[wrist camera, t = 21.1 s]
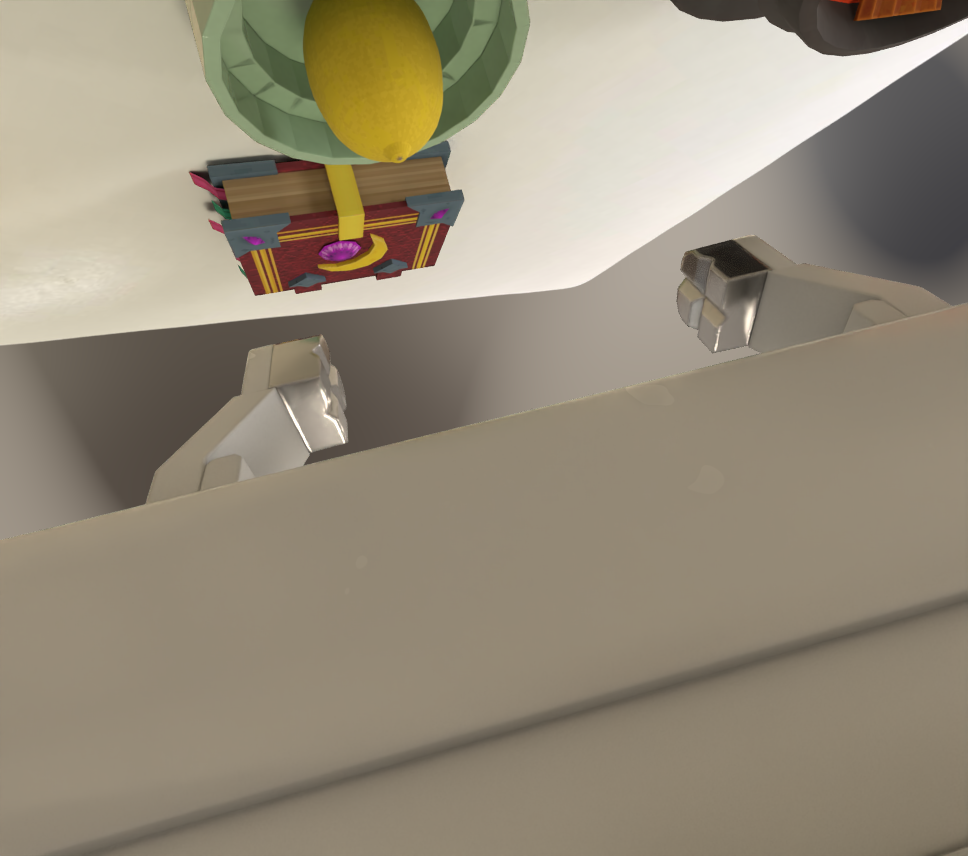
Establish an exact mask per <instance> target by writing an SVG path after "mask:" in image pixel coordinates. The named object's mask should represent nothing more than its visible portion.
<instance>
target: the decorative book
mask: <svg viewBox="0 0 968 856" xmlns="http://www.w3.org/2000/svg"><path fill="white" fill-rule="evenodd" d="M450 152H451V150H450V147H449V143H448V141H445V142H441V143H440V144H437V145H435V146H432V147H430V148H427V149H425V150H422V151H420V152H417V153H415V154H413V155H412V156H410V157H408V158H407V159H406V160H405V161H403V162H401V163H394V162H379V163H374V164H363V165H326V164H321V163H316V162H311V161H305V160H303V161H294V162H284V163H275V160H266V161H255V162H245V163H234V164H223V165H213V166H207V168H208V172H209V176H210V179H211V181H212V184H213V186H214V187H213V186H212V185H211V184H209V183H208V182H207V181H206V180H204V179H203V178H201V177H199V176H197V175H195V174H192V173H190V172H189V173H190V175H191V177H192V180H193V182H194V184H195V185H197V186H200V187H202V188H204V189H206V190H208V191H210V192H211V193H212V194H213V195H215V196H216V197H217V198H218V199H219V201H220V203H221V205H222V208H223V209H222V208H221V207H219V206H218V205H217V204H216V203H214V202H213V201H212V203H213V205H214V207H215V209H216V211H217V212H218V213H219V214H221V215H222V216H223V217H224V218H226V219H229V220H223V221H221V223H222V225H220V224H218V223H216V222H214V221H211V220H209V219H208V220H209V222H210V224H211V226H212V228H213V229H214V230H217V231H219V232H221V233H224V234H225V236H226V238H227V240H228V242H229V244H230V246H231V249H232V251H233V253H234V256H235V258H236V260H238V261H240V262H241V264H242V267H243V269H244V271H245V272H244V271H243V270H242V268H241V267H240V266H239V265H238V266H239V268H240V271H241V272H242V273H243V274H244V275H245V276H246V278H247V279H248V280H249V283H250V285H251V287H252V290H253V292H254V294H255V296H257V295H263V294H269V293H275V292H281V291H287V290H293V289H295V293H296V294H299V293H304V292H310V291H316V290H322V287H321V285H323V284H329V283H335V282H340V281H346V280H352V279H358V278H364V277H370V276H376V279H377V280H381V279H386V278H392V277H398V276H401V273H402V271H406V270H412V269H418V268H424V267H429V266H434V265H435V263H436V260H437V258H438V255H439V253H440V250H441V248H442V245H443V242H444V240H445V237H446V235H447V232H448V230H449V227H450V226H453V225H454V223H455V221H456V218H457V216H458V214H459V211H460V209H461V207H462V204H463V202H464V196H463V193H462V190H454V191H451V190H450V186H449V182H448V179H447V175H446V172H445V168H446V165H447V162H448V158H449V155H450Z"/></svg>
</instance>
